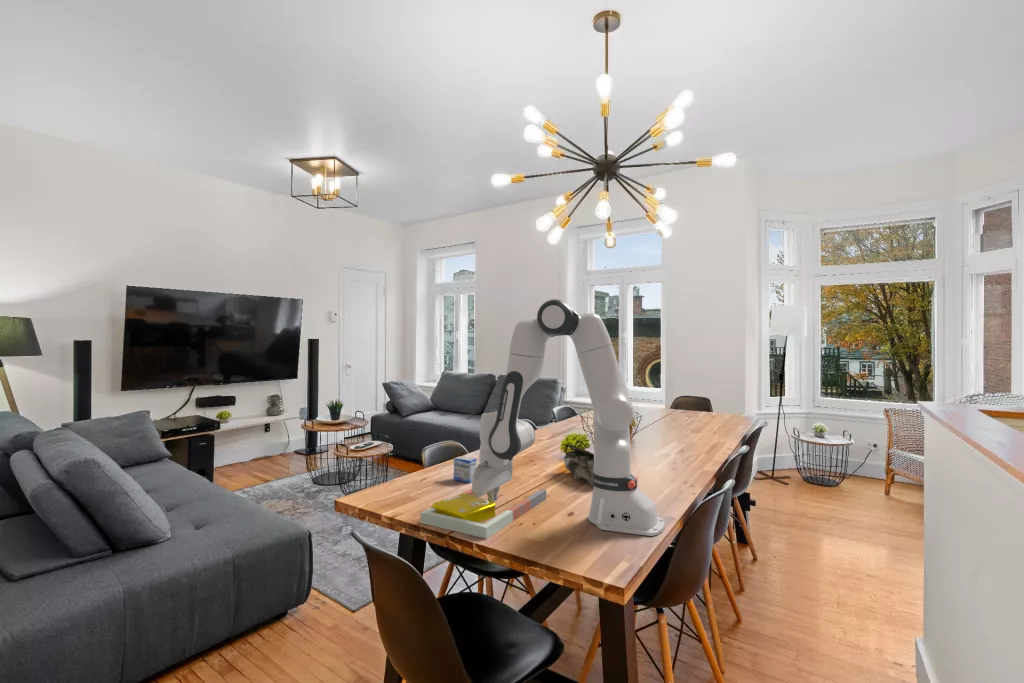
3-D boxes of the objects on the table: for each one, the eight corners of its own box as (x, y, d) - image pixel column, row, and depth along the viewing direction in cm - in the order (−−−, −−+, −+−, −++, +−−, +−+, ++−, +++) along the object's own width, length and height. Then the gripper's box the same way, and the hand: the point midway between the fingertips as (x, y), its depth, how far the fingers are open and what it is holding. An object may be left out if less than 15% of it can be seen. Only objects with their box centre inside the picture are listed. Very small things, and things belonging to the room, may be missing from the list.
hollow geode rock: (568, 481, 204) (546, 457, 201) (588, 458, 207) (566, 434, 204) (603, 499, 178) (578, 472, 174) (625, 473, 181) (600, 446, 178)
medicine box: (453, 480, 187) (453, 458, 187) (459, 477, 191) (459, 455, 191) (470, 483, 183) (470, 460, 183) (476, 480, 187) (476, 458, 187)
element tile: (465, 505, 160) (465, 491, 160) (498, 516, 150) (498, 501, 150) (429, 517, 149) (429, 501, 149) (462, 530, 139) (462, 513, 139)
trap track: (546, 498, 166) (546, 490, 166) (486, 538, 132) (486, 527, 132) (489, 488, 177) (489, 480, 177) (420, 522, 143) (420, 512, 143)
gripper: (484, 467, 146) (484, 512, 146) (516, 453, 164) (515, 494, 164) (467, 464, 149) (466, 509, 149) (499, 451, 167) (499, 491, 167)
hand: (492, 501), depth 157 cm, fingers closed
